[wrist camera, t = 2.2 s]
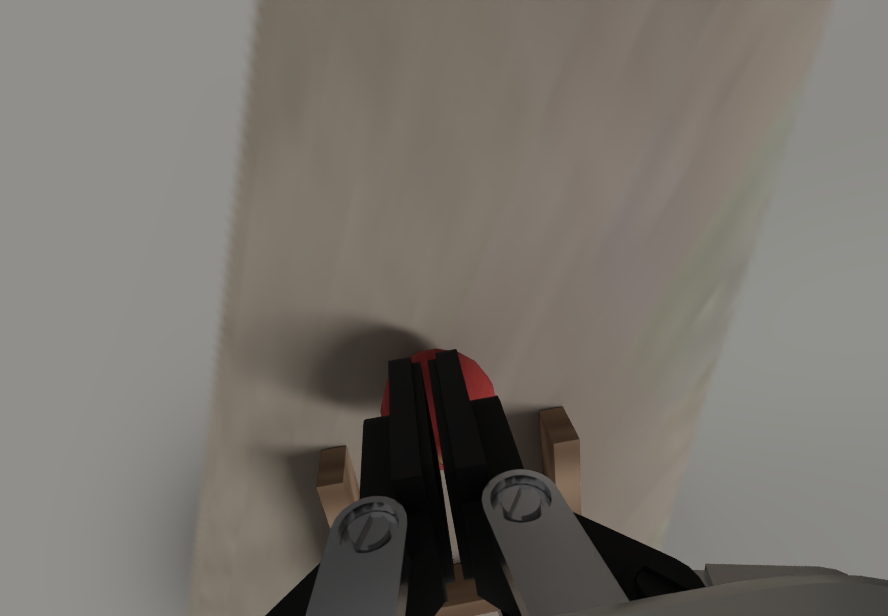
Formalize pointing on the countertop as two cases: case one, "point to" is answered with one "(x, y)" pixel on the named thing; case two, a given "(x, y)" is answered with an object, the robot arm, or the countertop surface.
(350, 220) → the countertop surface
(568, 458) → the corral
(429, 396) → the onion
